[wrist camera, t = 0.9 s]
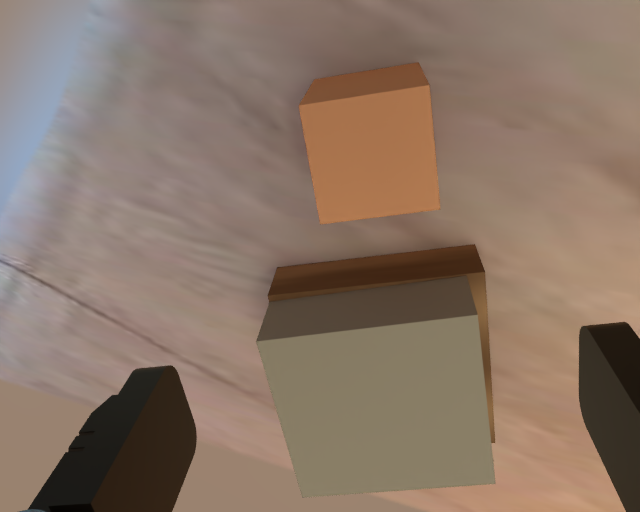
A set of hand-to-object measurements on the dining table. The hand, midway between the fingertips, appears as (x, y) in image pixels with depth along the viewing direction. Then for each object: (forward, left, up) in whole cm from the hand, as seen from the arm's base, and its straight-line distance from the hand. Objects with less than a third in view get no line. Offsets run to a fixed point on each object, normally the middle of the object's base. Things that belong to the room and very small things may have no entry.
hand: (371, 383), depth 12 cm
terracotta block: (0, 0, -22) cm, 22 cm away
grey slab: (+14, -1, -19) cm, 23 cm away
